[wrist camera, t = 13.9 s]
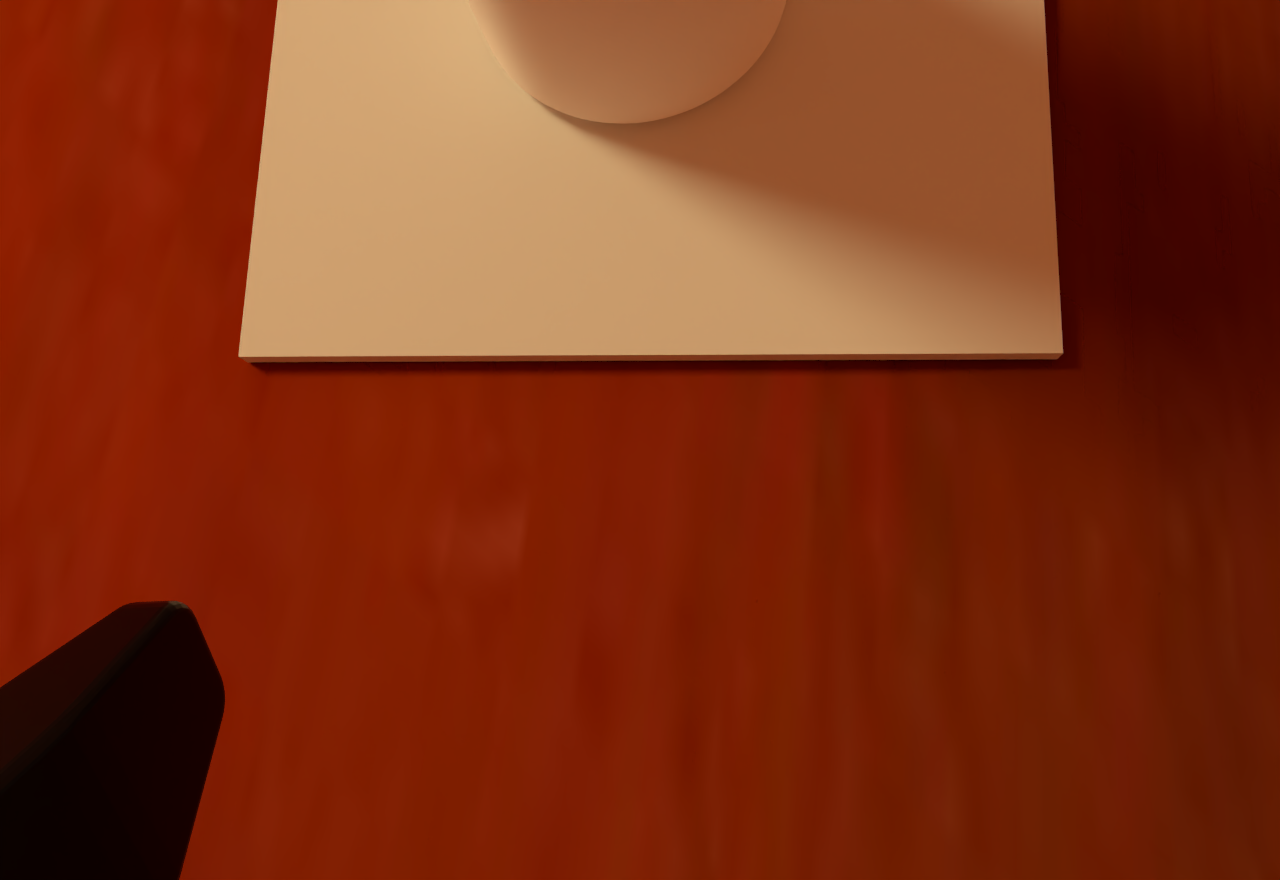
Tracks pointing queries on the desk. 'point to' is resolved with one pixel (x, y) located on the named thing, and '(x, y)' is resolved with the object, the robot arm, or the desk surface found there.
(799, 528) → the desk surface
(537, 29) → the can
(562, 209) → the beige mat
